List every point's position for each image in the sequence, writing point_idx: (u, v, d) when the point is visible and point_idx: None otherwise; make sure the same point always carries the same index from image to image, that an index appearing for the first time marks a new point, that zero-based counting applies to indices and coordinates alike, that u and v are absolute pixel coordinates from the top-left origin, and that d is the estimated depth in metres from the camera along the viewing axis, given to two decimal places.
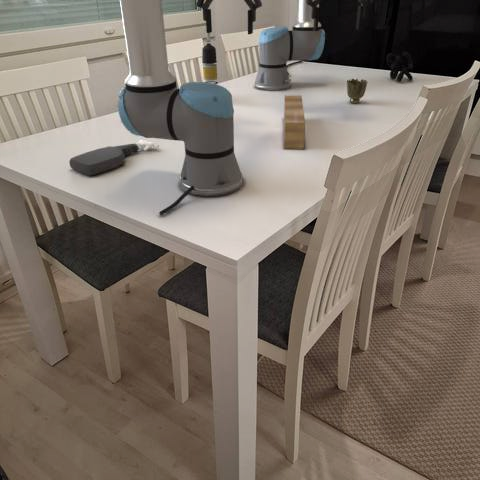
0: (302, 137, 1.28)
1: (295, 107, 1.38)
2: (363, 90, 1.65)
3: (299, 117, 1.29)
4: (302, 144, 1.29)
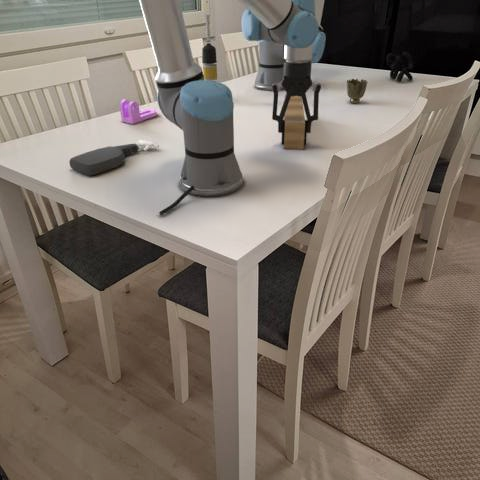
0: (302, 137, 1.28)
1: (295, 107, 1.38)
2: (363, 90, 1.65)
3: (299, 117, 1.29)
4: (302, 144, 1.29)
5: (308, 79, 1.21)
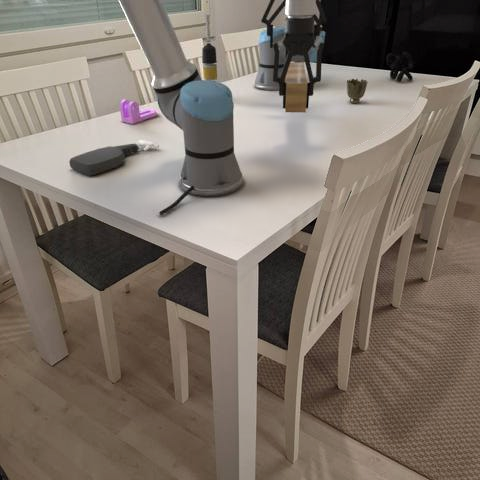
0: (304, 99, 1.22)
1: (297, 71, 1.33)
2: (363, 90, 1.65)
3: (301, 79, 1.24)
4: (304, 107, 1.23)
5: (311, 37, 1.16)
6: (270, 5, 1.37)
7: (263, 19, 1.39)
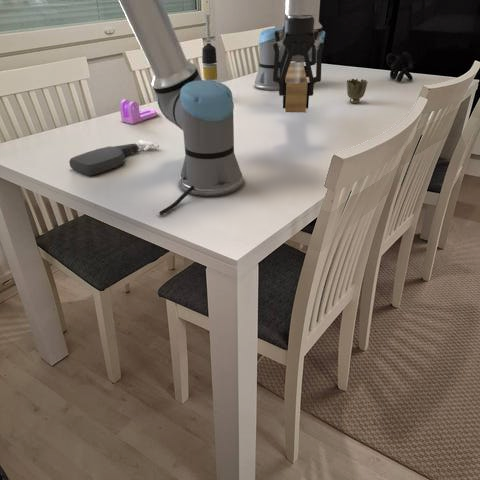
0: (304, 99, 1.22)
1: (297, 71, 1.33)
2: (363, 90, 1.65)
3: (301, 79, 1.24)
4: (304, 107, 1.23)
5: (311, 36, 1.16)
6: None
7: None
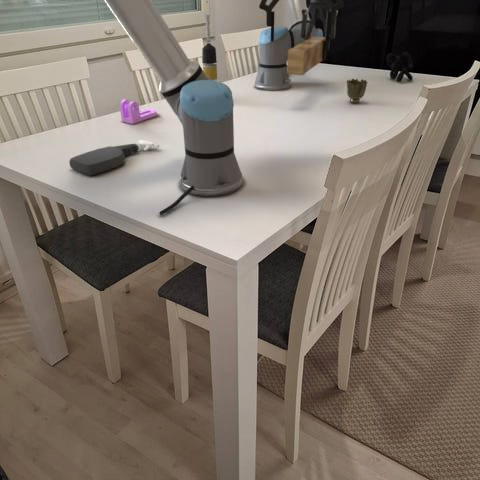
0: (301, 64, 1.53)
1: (310, 43, 1.63)
2: (363, 90, 1.65)
3: (303, 48, 1.54)
4: (301, 71, 1.54)
5: None
6: (303, 22, 1.69)
7: (301, 35, 1.72)
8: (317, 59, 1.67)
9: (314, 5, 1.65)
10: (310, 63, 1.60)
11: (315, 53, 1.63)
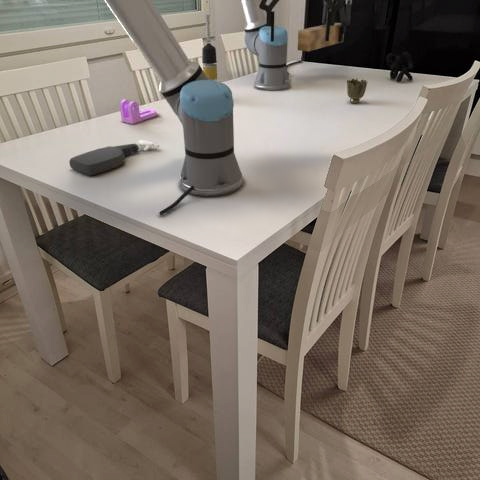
0: (308, 42, 1.87)
1: (323, 26, 1.96)
2: (363, 90, 1.65)
3: (312, 29, 1.88)
4: (308, 47, 1.88)
5: None
6: (324, 10, 2.03)
7: (323, 21, 2.05)
8: (330, 41, 1.99)
9: None
10: (320, 42, 1.94)
11: None
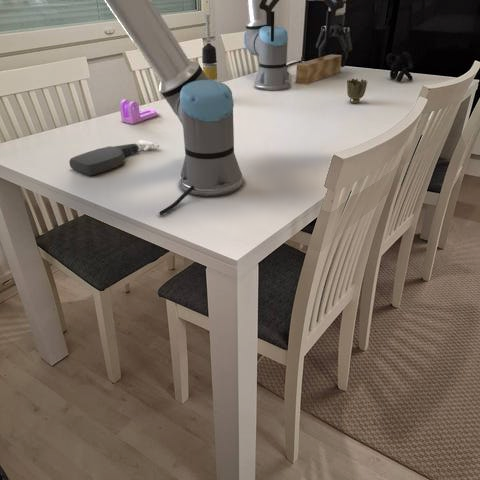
0: (306, 75, 1.96)
1: (321, 59, 2.04)
2: (363, 90, 1.65)
3: (310, 63, 1.97)
4: (305, 80, 1.97)
5: None
6: (320, 36, 2.10)
7: (316, 45, 2.13)
8: (328, 72, 2.08)
9: (331, 26, 2.05)
10: (318, 75, 2.02)
11: (324, 67, 2.04)
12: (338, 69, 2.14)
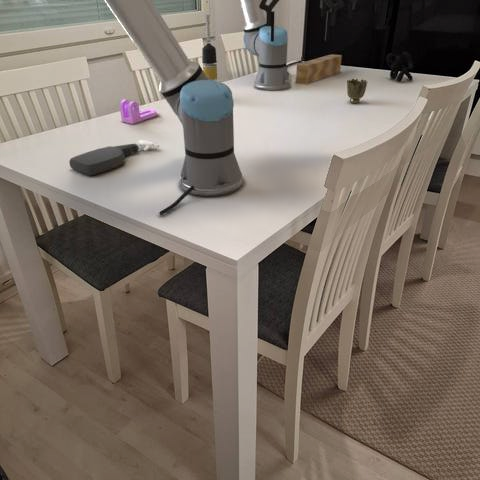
0: (306, 75, 1.96)
1: (321, 59, 2.04)
2: (363, 90, 1.65)
3: (310, 63, 1.97)
4: (305, 80, 1.97)
5: None
6: None
7: None
8: (328, 72, 2.08)
9: None
10: (318, 75, 2.02)
11: (324, 67, 2.04)
12: (338, 69, 2.14)
